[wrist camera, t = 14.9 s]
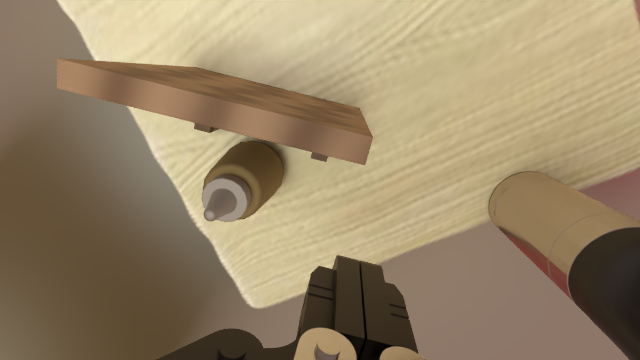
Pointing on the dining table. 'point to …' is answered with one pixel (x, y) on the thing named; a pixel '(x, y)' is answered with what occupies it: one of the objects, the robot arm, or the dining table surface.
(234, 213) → the squeeze bottle
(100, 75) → the walnut wall board
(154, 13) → the dining table surface
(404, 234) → the dining table surface
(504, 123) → the dining table surface
